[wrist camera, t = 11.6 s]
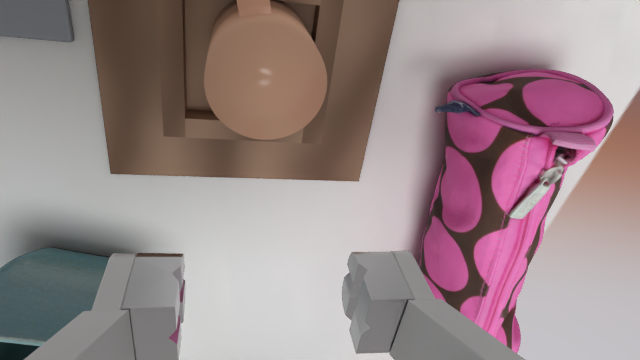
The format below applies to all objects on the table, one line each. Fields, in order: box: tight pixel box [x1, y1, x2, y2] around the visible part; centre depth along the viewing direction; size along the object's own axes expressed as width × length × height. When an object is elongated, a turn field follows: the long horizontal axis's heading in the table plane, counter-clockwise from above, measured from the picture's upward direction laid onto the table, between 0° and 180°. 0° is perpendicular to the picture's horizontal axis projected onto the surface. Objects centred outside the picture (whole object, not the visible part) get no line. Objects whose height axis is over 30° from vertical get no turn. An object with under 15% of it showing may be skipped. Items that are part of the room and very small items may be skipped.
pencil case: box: [419, 69, 614, 353], centre depth 29 cm, size 21×10×10 cm, turn 2°
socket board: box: [88, 0, 399, 181], centre depth 24 cm, size 16×16×2 cm
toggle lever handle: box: [204, 0, 327, 140], centre depth 20 cm, size 10×5×6 cm, turn 5°
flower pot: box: [0, 248, 109, 360], centre depth 27 cm, size 9×9×9 cm
